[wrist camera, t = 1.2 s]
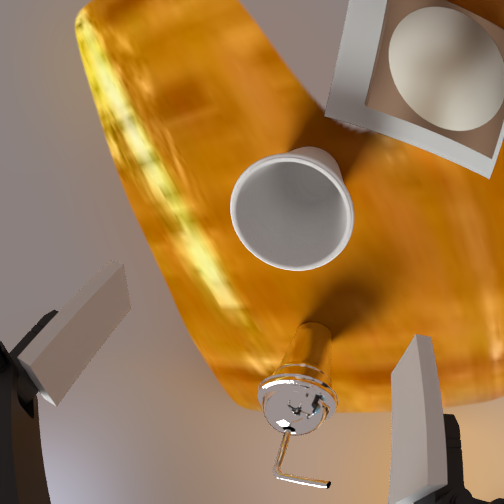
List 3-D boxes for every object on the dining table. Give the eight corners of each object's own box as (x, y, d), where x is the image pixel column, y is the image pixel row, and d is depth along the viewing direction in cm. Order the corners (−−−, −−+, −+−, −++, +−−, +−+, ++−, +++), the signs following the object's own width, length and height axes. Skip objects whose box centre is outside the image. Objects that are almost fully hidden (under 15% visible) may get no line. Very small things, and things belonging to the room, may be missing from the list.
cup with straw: (281, 303, 37) (220, 456, 21) (357, 316, 35) (335, 481, 18) (278, 352, 41) (227, 485, 25) (344, 363, 39) (317, 505, 23)
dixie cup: (255, 144, 29) (212, 171, 21) (342, 123, 25) (337, 141, 17) (280, 223, 32) (251, 278, 24) (363, 209, 29) (363, 264, 21)
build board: (517, 43, 15) (524, 42, 14) (483, 174, 23) (489, 179, 22) (354, -24, 18) (354, -30, 17) (325, 114, 26) (324, 116, 24)
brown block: (495, 44, 16) (520, 39, 11) (470, 145, 21) (492, 159, 17) (387, -2, 17) (393, -20, 13) (364, 104, 23) (367, 107, 19)
